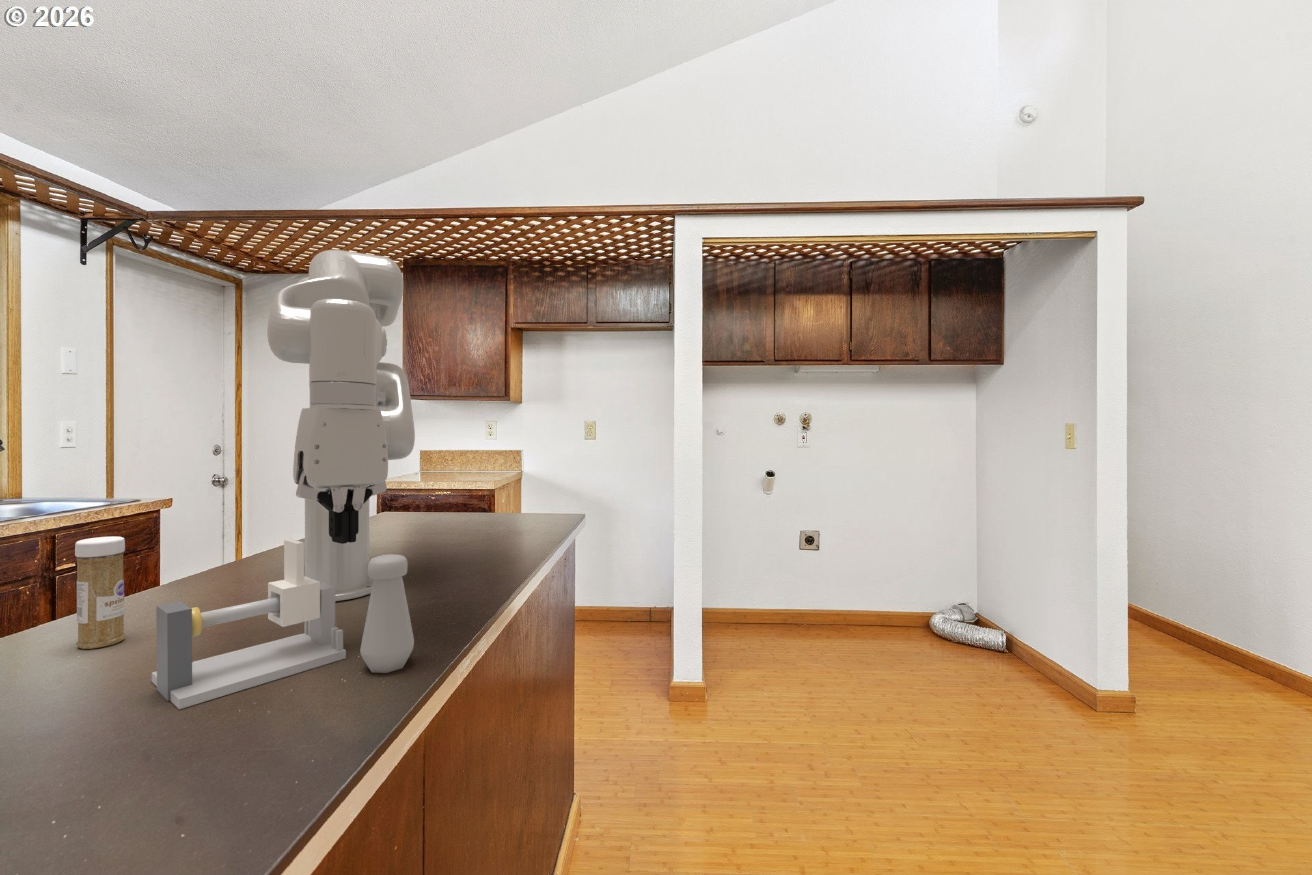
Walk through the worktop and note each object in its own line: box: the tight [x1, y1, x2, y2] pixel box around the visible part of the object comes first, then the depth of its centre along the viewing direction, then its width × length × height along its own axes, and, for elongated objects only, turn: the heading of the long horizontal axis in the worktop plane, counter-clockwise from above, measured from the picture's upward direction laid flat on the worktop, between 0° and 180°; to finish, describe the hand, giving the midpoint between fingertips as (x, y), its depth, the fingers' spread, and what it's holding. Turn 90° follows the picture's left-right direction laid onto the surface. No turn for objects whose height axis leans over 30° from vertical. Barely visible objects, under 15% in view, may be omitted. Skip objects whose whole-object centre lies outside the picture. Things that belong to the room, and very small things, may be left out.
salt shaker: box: [359, 553, 415, 674], centre depth 67 cm, size 6×6×13 cm
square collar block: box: [267, 538, 320, 628], centre depth 69 cm, size 4×4×9 cm
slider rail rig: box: [151, 583, 347, 710], centre depth 66 cm, size 16×10×9 cm, turn 143°
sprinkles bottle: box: [74, 536, 126, 650], centre depth 73 cm, size 5×5×14 cm
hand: (343, 541), depth 73 cm, fingers closed
